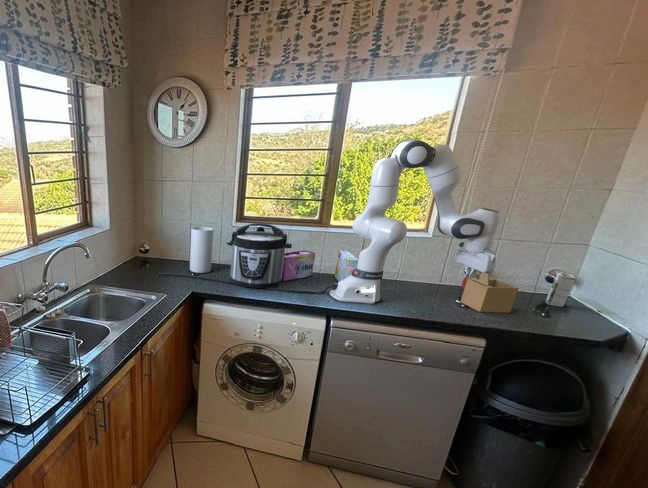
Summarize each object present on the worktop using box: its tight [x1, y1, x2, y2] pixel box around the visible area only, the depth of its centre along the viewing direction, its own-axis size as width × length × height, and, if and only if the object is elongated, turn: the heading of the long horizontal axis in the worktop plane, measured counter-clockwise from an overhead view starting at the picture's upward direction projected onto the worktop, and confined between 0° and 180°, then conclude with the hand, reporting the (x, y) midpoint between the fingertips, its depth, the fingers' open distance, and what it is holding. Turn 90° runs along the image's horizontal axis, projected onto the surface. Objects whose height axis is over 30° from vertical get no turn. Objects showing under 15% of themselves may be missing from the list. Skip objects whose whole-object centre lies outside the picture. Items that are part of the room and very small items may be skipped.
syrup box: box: [544, 272, 576, 308], centre depth 186 cm, size 6×6×14 cm
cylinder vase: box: [189, 226, 214, 274], centre depth 235 cm, size 12×12×25 cm
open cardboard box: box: [460, 278, 520, 314], centre depth 183 cm, size 13×13×12 cm
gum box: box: [281, 249, 316, 282], centre depth 226 cm, size 24×8×14 cm, turn 118°
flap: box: [466, 270, 490, 286], centre depth 179 cm, size 6×13×1 cm
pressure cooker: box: [226, 222, 293, 289], centre depth 212 cm, size 30×28×32 cm
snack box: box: [333, 250, 359, 282], centre depth 217 cm, size 21×6×15 cm, turn 168°
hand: (469, 277), depth 180 cm, fingers closed
